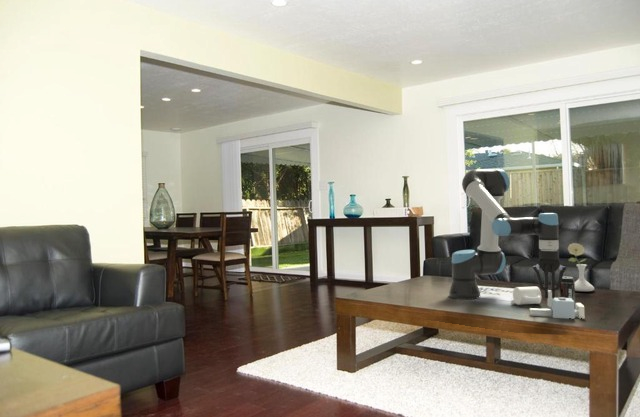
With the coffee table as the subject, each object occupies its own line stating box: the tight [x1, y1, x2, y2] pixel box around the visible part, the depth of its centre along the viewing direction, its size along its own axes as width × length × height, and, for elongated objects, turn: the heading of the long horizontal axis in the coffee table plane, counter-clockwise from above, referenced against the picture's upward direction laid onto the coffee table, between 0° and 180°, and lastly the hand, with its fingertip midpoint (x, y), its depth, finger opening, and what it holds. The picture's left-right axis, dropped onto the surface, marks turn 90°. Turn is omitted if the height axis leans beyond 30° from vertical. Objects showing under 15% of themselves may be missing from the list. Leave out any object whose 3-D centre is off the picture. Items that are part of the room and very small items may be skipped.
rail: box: [529, 302, 586, 320], centre depth 208 cm, size 20×7×5 cm, turn 73°
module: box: [549, 296, 576, 320], centre depth 207 cm, size 8×7×8 cm
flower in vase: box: [567, 242, 595, 293], centre depth 259 cm, size 13×11×25 cm
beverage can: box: [558, 275, 576, 303], centre depth 232 cm, size 7×7×12 cm
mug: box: [512, 286, 542, 306], centre depth 230 cm, size 12×10×8 cm
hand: (549, 306), depth 208 cm, fingers closed
